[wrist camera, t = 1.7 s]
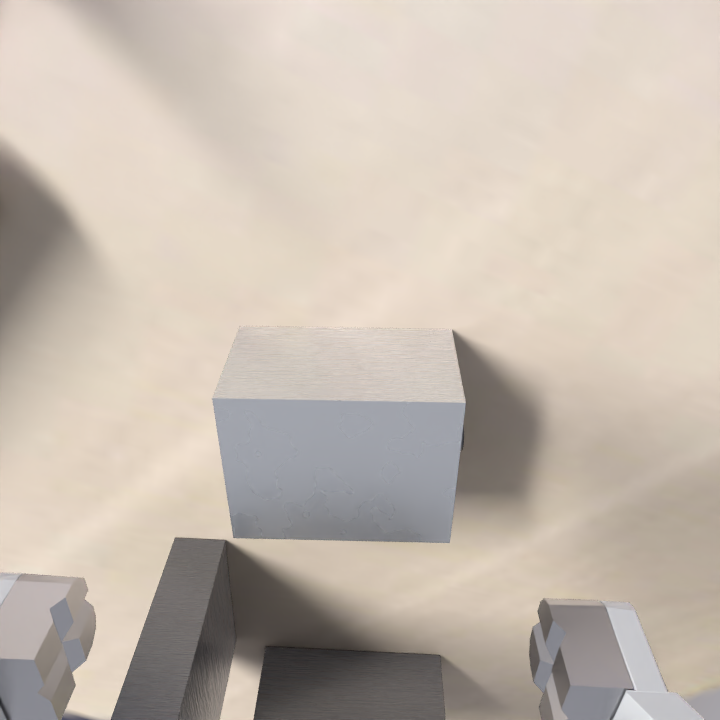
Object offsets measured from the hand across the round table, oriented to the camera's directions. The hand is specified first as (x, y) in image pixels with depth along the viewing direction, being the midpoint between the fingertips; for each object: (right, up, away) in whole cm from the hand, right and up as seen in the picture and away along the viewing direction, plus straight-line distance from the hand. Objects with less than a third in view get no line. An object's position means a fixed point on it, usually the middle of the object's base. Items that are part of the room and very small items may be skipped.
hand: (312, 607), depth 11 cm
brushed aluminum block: (0, +3, +21) cm, 21 cm away
